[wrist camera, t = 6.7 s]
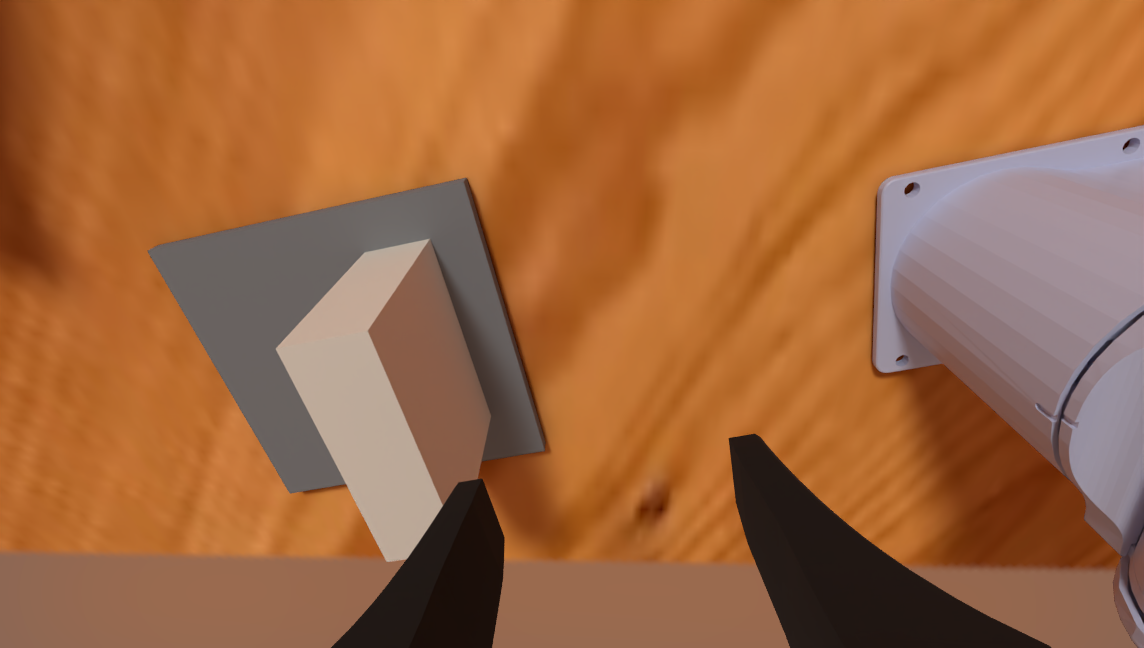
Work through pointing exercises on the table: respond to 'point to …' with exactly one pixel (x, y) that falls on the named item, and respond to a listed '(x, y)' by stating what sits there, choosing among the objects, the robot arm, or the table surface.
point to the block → (392, 390)
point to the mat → (304, 276)
